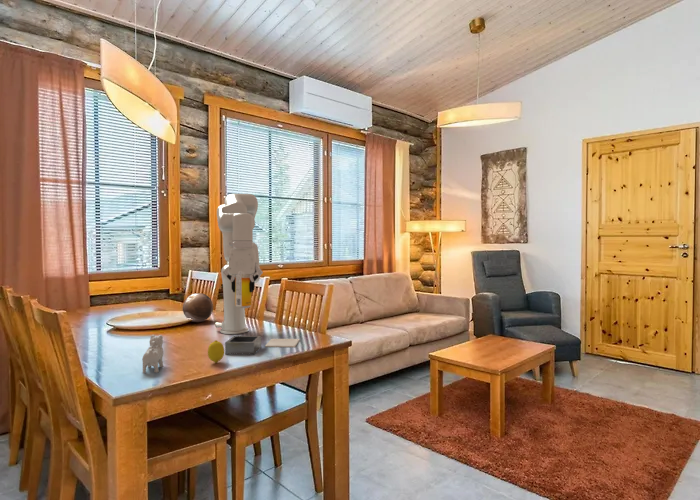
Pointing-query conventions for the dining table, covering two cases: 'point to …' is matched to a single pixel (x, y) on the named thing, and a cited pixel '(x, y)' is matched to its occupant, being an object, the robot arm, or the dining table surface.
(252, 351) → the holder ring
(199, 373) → the dining table surface
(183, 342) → the dining table surface
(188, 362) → the dining table surface
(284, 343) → the tile pad
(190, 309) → the wooden sphere
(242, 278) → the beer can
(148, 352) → the white dog figurine
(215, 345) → the lemon
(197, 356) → the dining table surface
